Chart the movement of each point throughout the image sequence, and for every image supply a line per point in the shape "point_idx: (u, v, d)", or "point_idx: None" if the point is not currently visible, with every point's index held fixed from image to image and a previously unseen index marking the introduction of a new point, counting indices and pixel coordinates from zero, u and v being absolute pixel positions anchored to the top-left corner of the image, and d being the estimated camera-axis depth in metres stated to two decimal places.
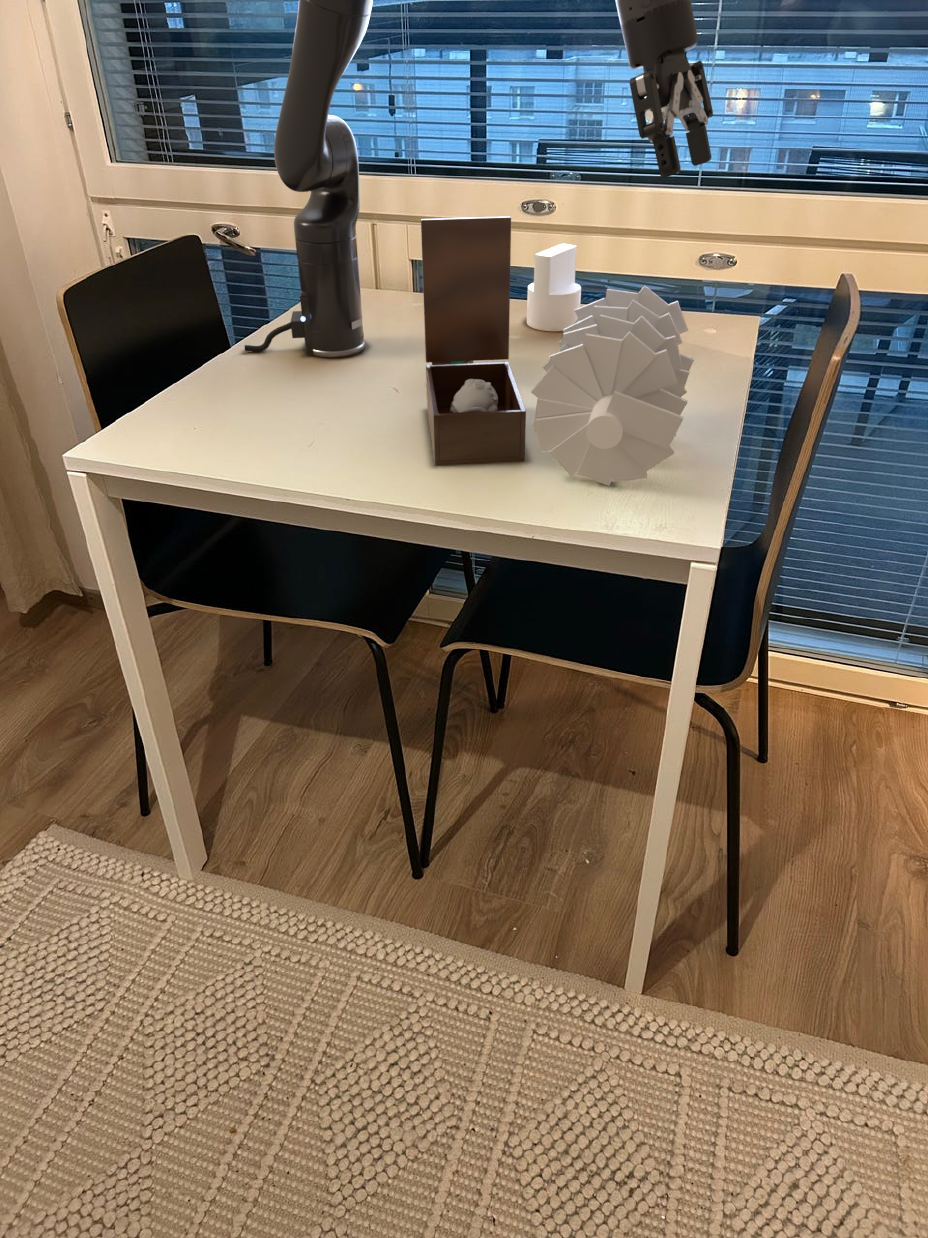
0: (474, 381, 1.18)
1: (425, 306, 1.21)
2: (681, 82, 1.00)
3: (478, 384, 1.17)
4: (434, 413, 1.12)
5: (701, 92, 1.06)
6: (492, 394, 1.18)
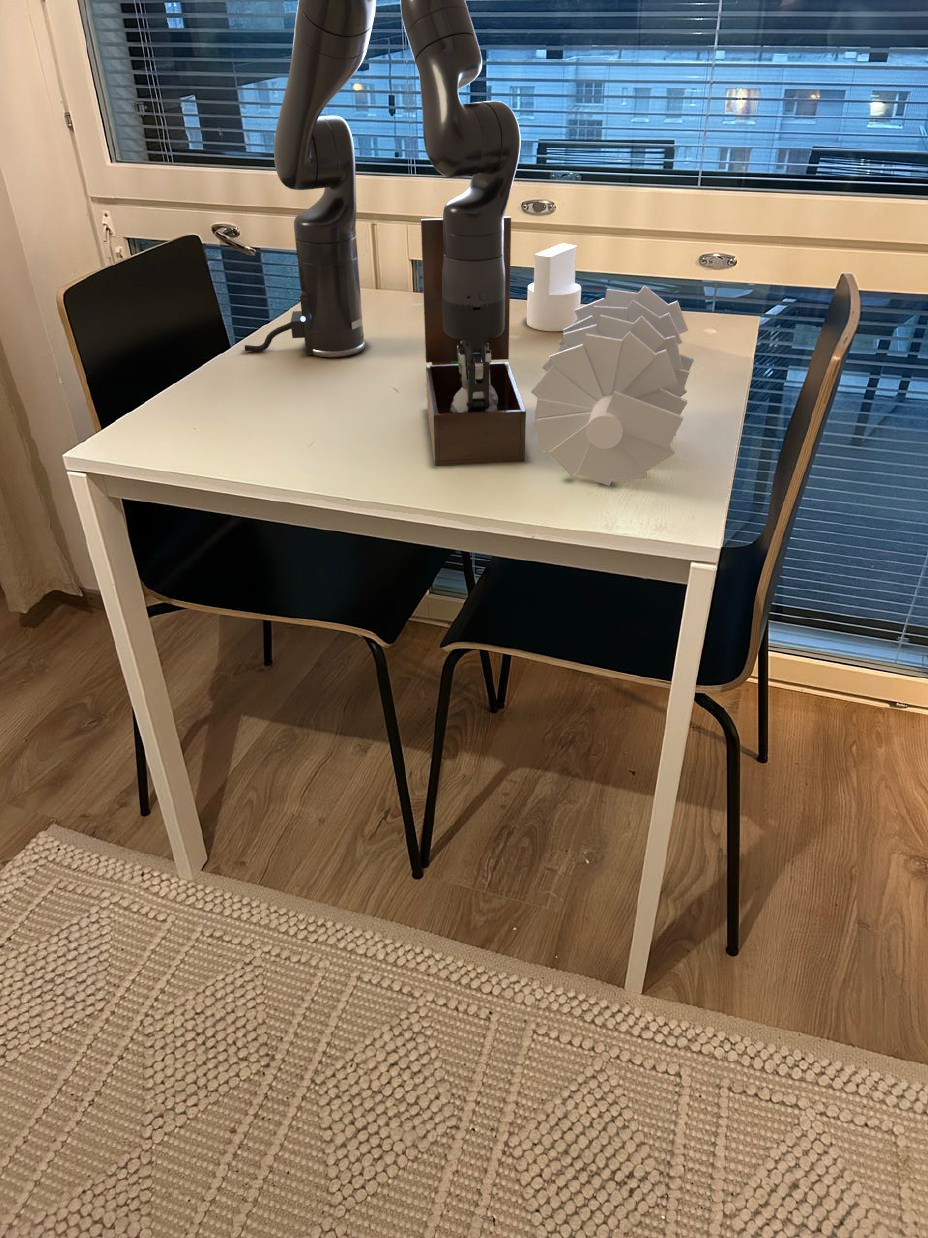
0: None
1: (425, 306, 1.21)
2: None
3: None
4: (434, 413, 1.12)
5: None
6: (492, 394, 1.18)
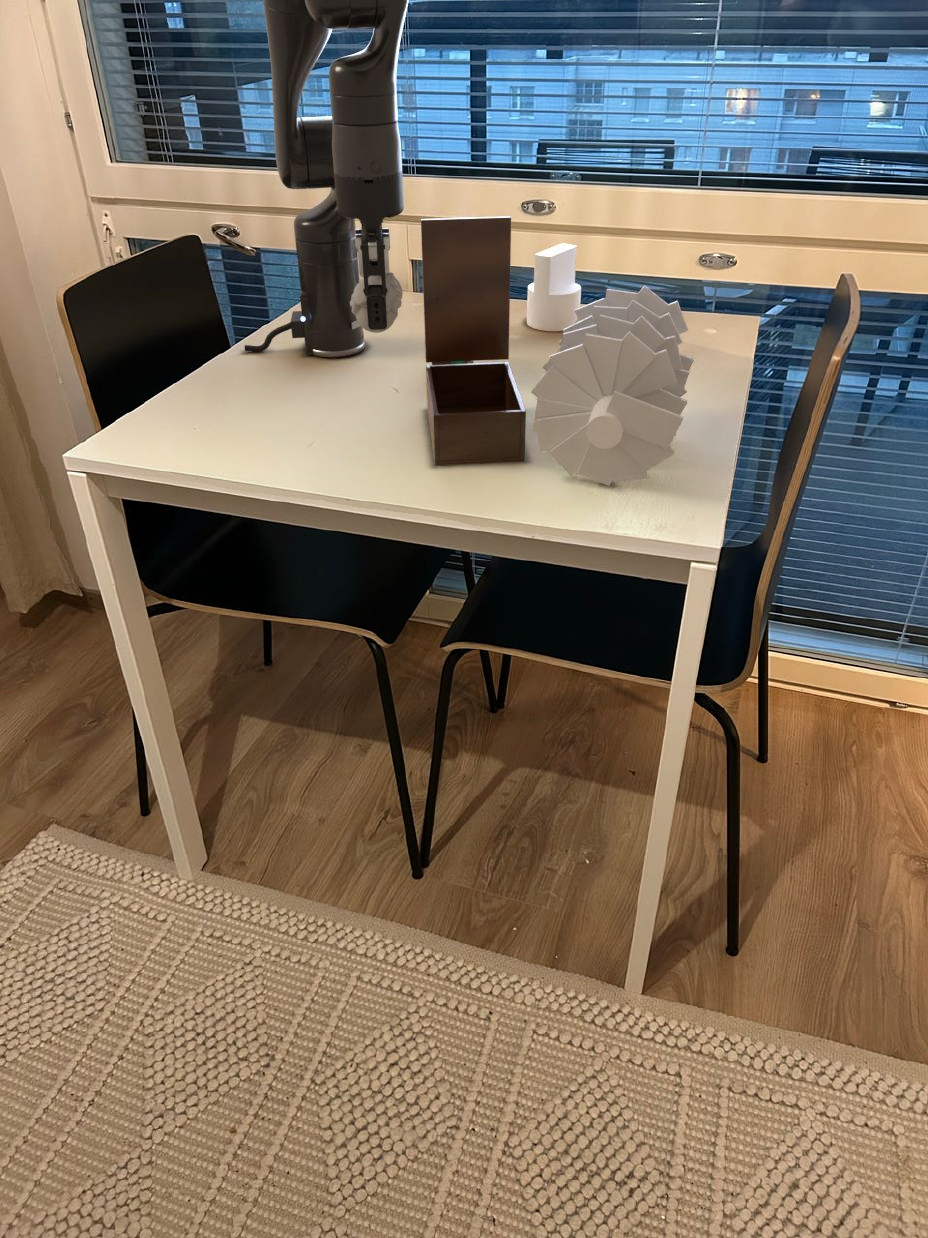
0: None
1: (425, 306, 1.21)
2: None
3: None
4: (434, 413, 1.12)
5: None
6: (395, 285, 1.09)
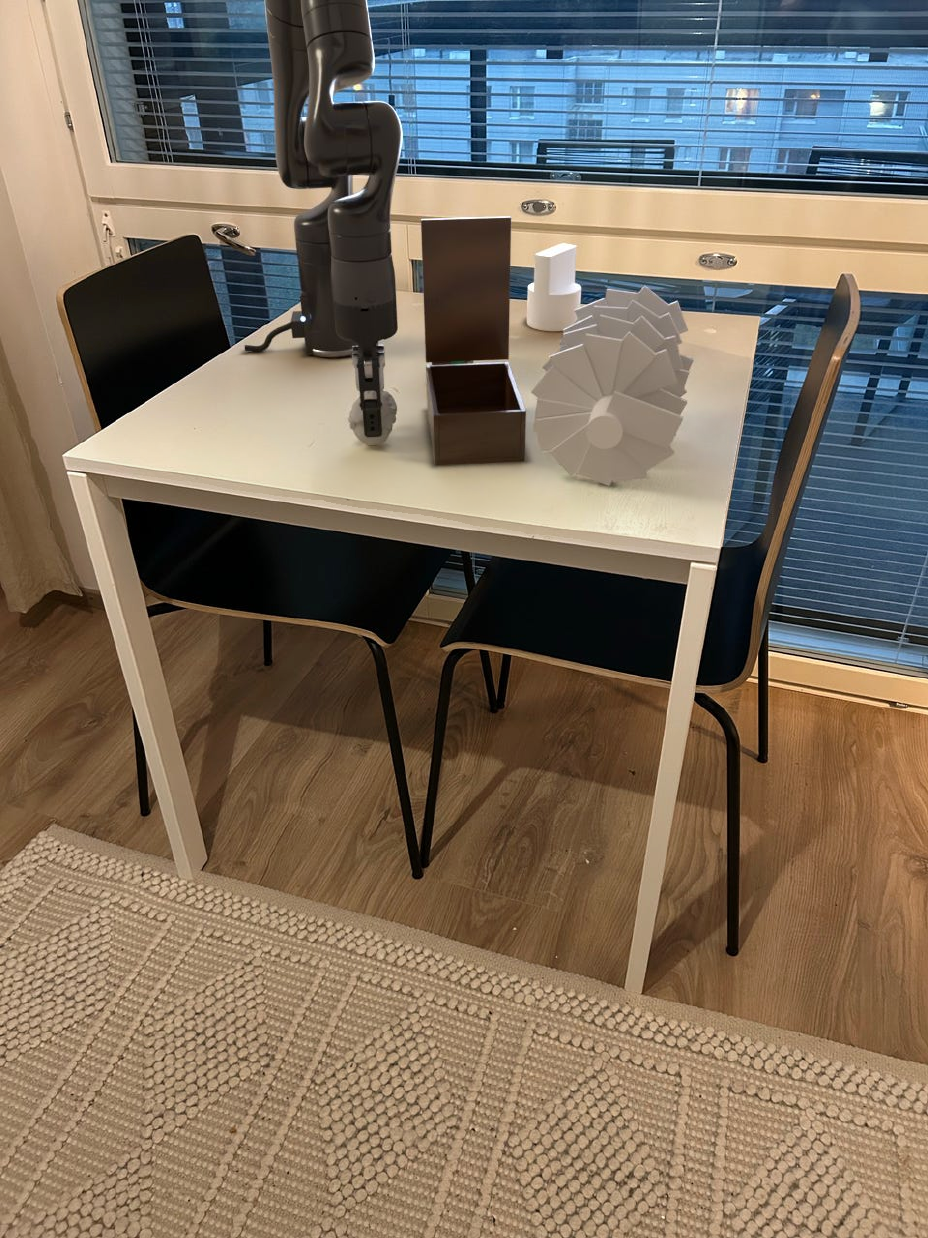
0: None
1: (425, 306, 1.21)
2: None
3: (374, 393, 1.17)
4: (434, 413, 1.12)
5: None
6: (389, 403, 1.18)
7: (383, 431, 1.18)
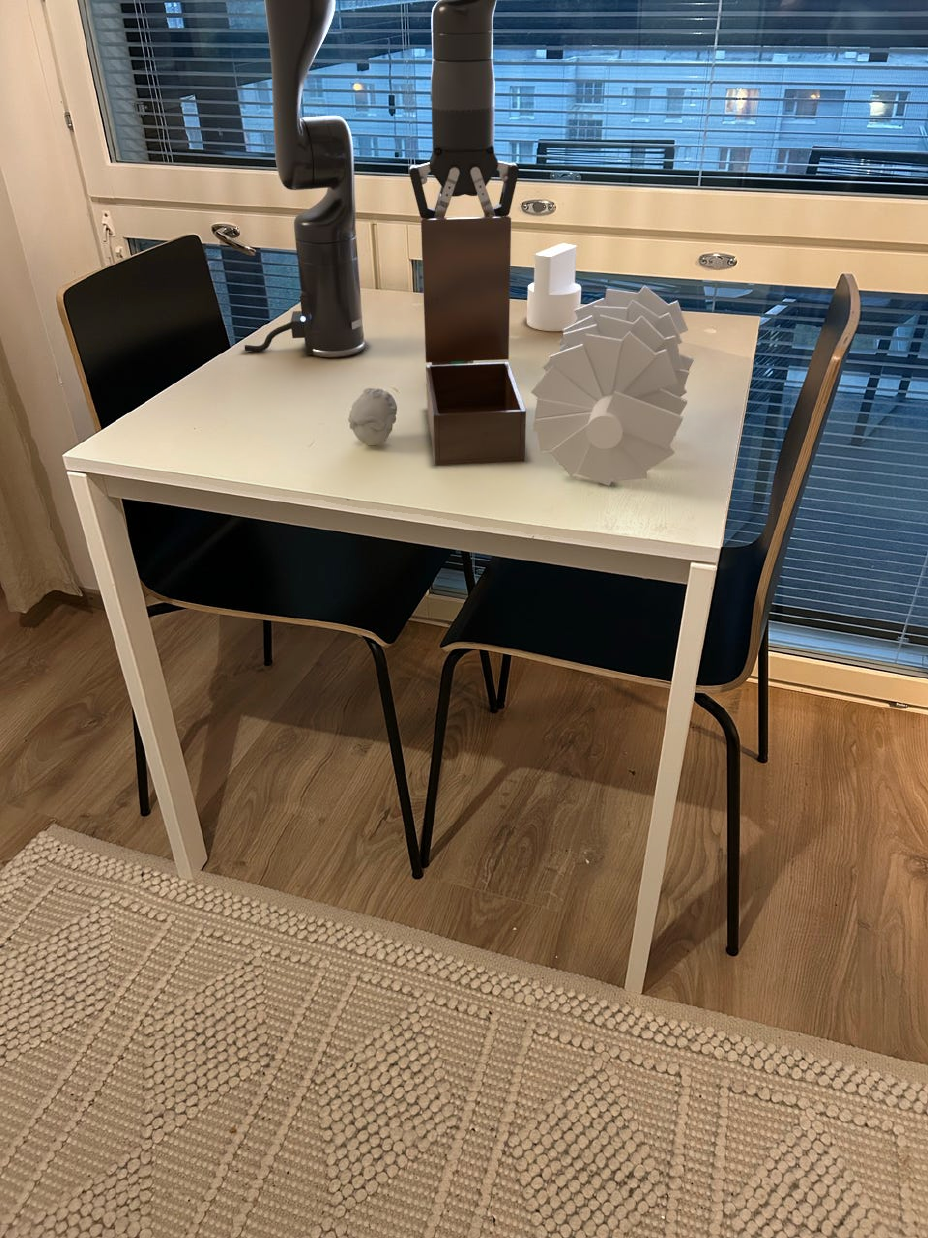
0: (371, 390, 1.17)
1: (425, 306, 1.21)
2: None
3: (374, 393, 1.17)
4: (434, 413, 1.12)
5: None
6: (389, 403, 1.18)
7: (383, 431, 1.18)
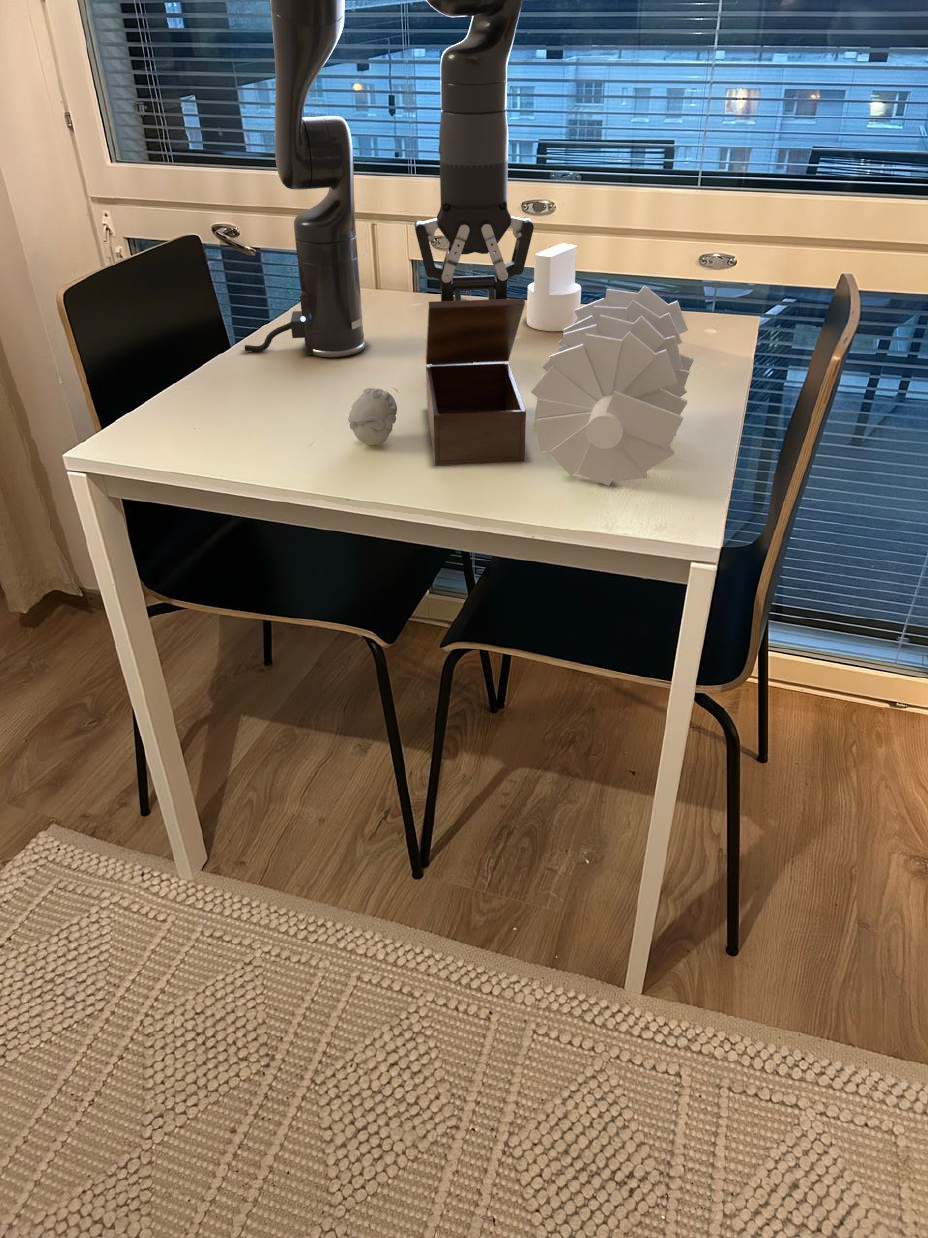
0: (371, 390, 1.17)
1: (428, 343, 1.18)
2: None
3: (374, 393, 1.17)
4: (434, 413, 1.12)
5: None
6: (389, 403, 1.18)
7: (383, 431, 1.18)
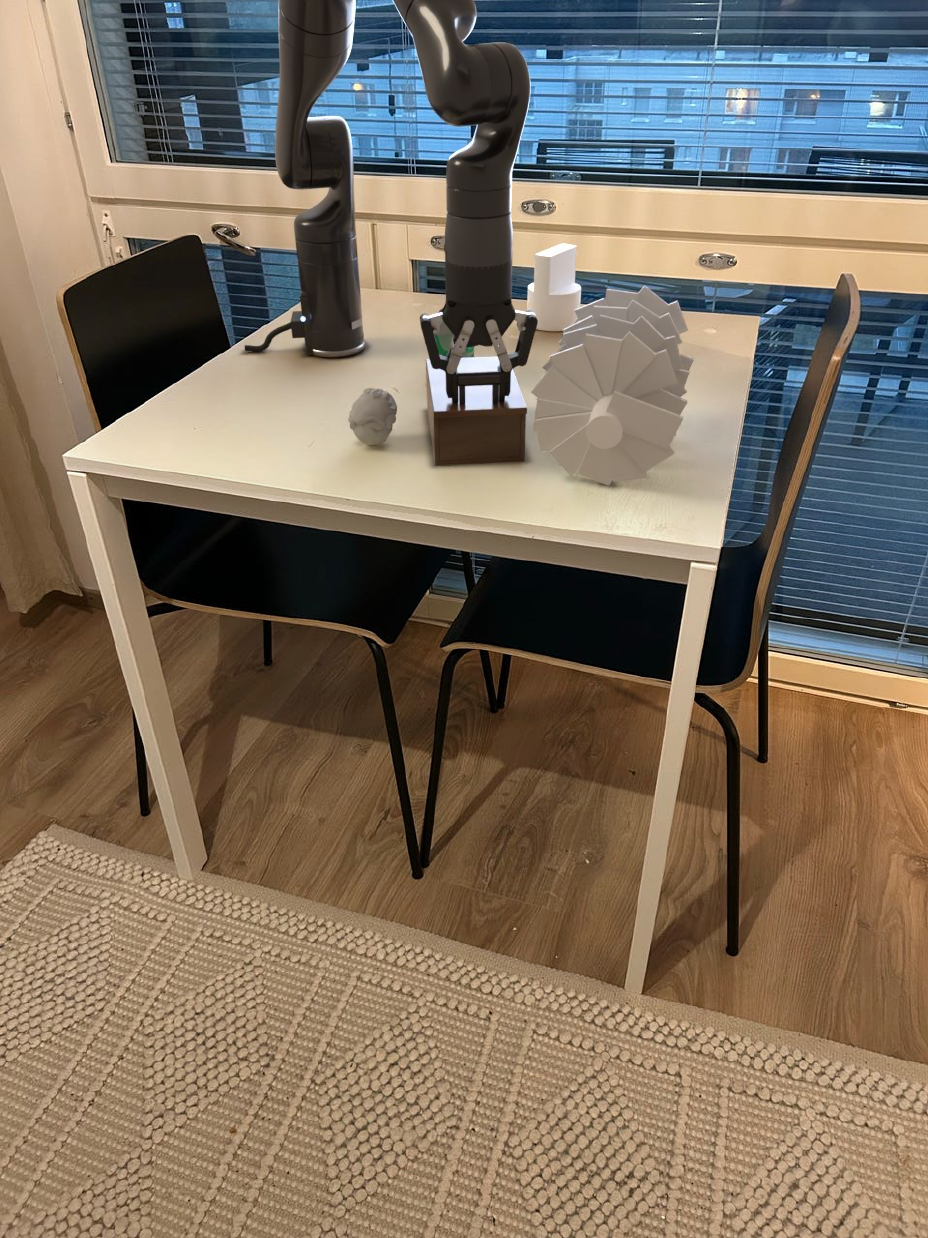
0: (371, 390, 1.17)
1: None
2: None
3: (374, 393, 1.17)
4: None
5: None
6: (389, 403, 1.18)
7: (383, 431, 1.18)
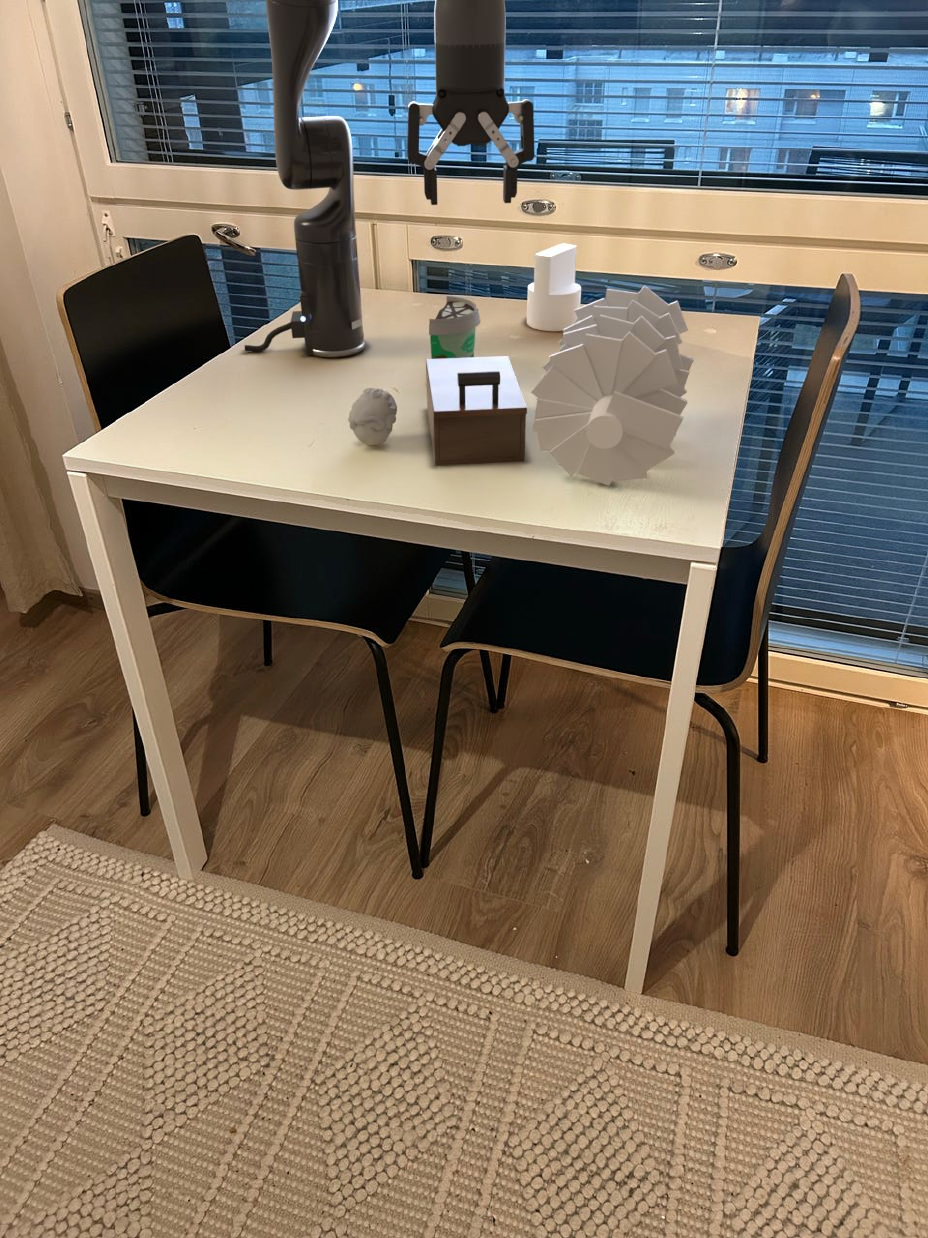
0: (371, 390, 1.17)
1: None
2: None
3: (374, 393, 1.17)
4: None
5: None
6: (389, 403, 1.18)
7: (383, 431, 1.18)
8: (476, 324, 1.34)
